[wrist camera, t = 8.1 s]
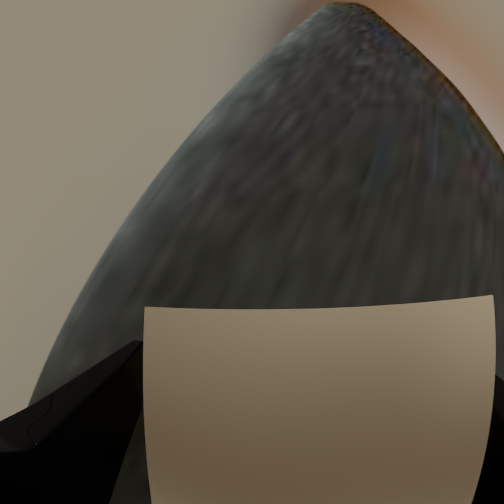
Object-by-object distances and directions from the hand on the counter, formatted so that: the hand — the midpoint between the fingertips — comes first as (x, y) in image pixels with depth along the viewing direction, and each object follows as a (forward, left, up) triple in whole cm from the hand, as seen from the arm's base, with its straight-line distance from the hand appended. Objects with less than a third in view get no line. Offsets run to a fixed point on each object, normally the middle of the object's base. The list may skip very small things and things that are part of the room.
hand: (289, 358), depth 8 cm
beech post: (-1, +1, -8) cm, 8 cm away
